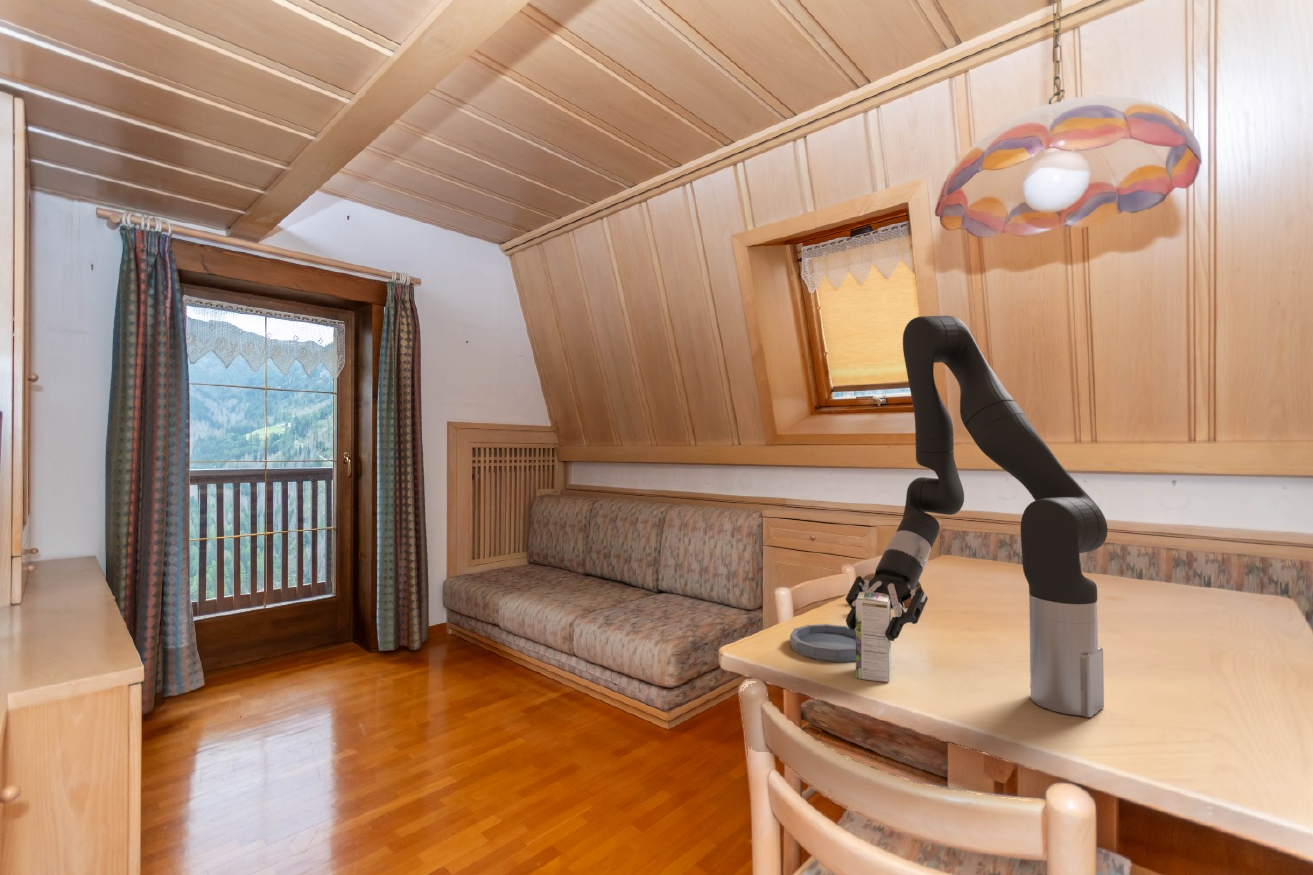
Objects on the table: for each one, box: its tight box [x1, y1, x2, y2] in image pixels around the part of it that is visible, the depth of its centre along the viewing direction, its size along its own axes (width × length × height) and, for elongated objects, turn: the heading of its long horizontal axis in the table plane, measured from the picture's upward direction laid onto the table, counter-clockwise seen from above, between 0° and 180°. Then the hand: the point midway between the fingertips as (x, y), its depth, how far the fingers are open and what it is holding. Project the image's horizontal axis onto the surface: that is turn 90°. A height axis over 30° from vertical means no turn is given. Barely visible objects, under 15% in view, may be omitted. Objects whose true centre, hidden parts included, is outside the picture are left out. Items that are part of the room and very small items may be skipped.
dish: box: [789, 623, 856, 663], centre depth 128 cm, size 16×16×2 cm
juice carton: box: [855, 592, 892, 683], centre depth 113 cm, size 6×6×14 cm
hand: (869, 632), depth 112 cm, fingers closed on juice carton, 7 cm apart
